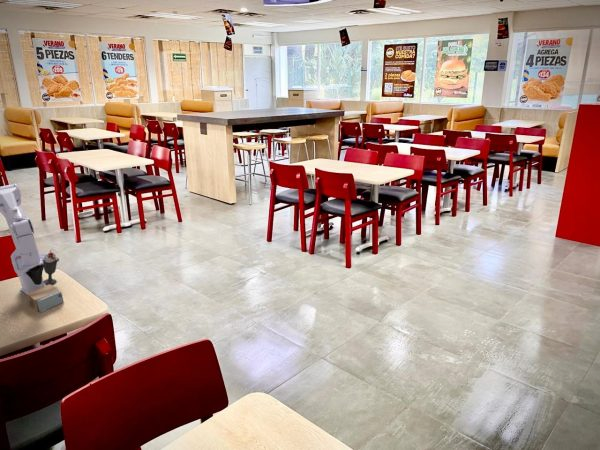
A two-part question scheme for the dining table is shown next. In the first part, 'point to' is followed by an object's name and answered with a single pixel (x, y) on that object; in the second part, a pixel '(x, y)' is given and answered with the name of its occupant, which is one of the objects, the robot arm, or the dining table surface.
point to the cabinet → (40, 295)
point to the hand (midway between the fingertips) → (38, 283)
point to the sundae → (50, 267)
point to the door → (50, 301)
